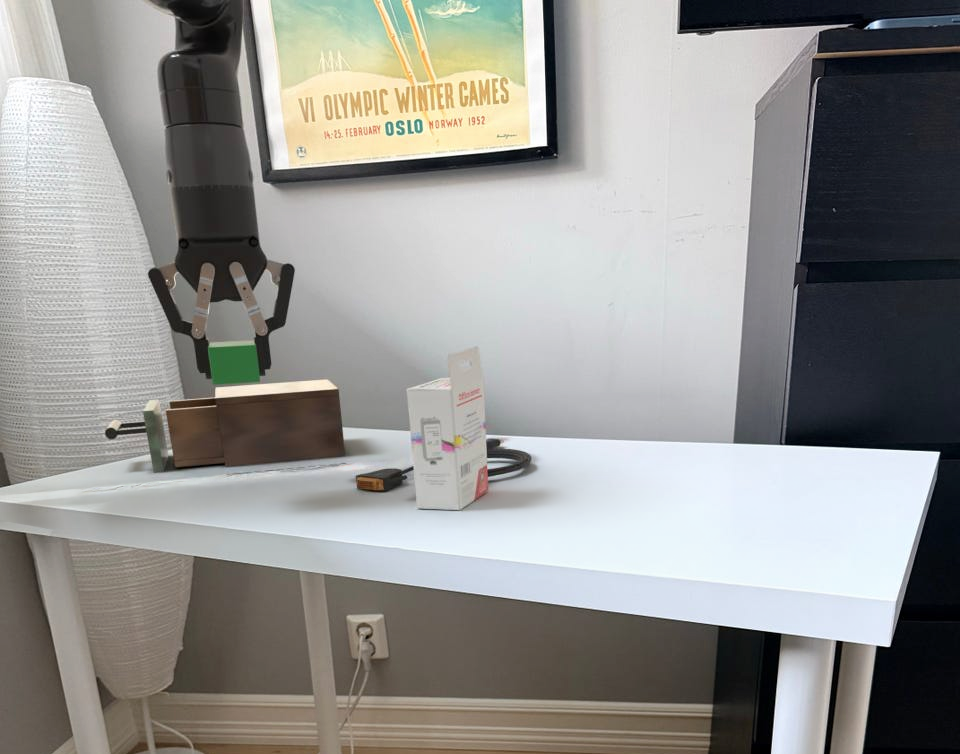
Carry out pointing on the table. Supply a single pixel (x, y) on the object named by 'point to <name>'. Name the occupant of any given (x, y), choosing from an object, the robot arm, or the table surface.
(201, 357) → the robot arm
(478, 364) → the ink cartridge box
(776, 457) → the table surface
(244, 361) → the green rectangular block
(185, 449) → the drawer
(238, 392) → the cabinet
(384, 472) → the cable
